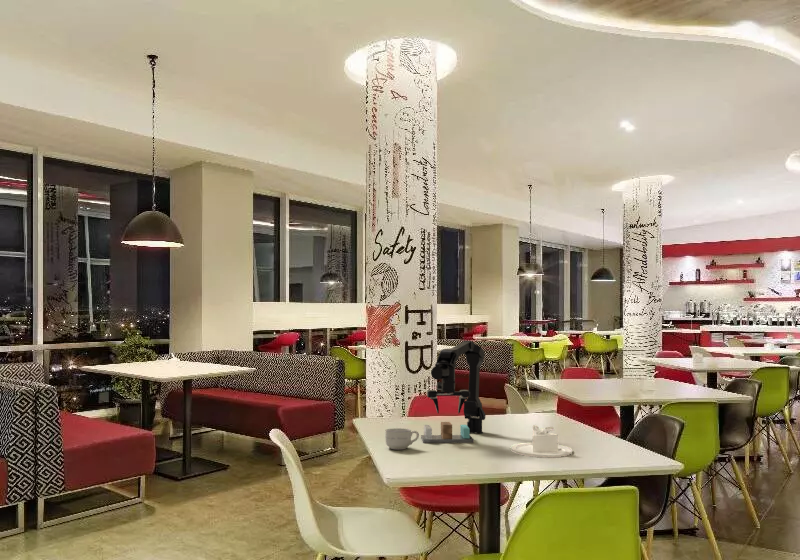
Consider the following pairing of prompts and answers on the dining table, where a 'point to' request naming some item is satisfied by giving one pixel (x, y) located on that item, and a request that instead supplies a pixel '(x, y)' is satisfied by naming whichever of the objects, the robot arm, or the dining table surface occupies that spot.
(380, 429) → the dining table surface
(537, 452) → the dish
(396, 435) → the teacup
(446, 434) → the brown rectangular block
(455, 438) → the vise base
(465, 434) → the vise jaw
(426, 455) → the dining table surface
